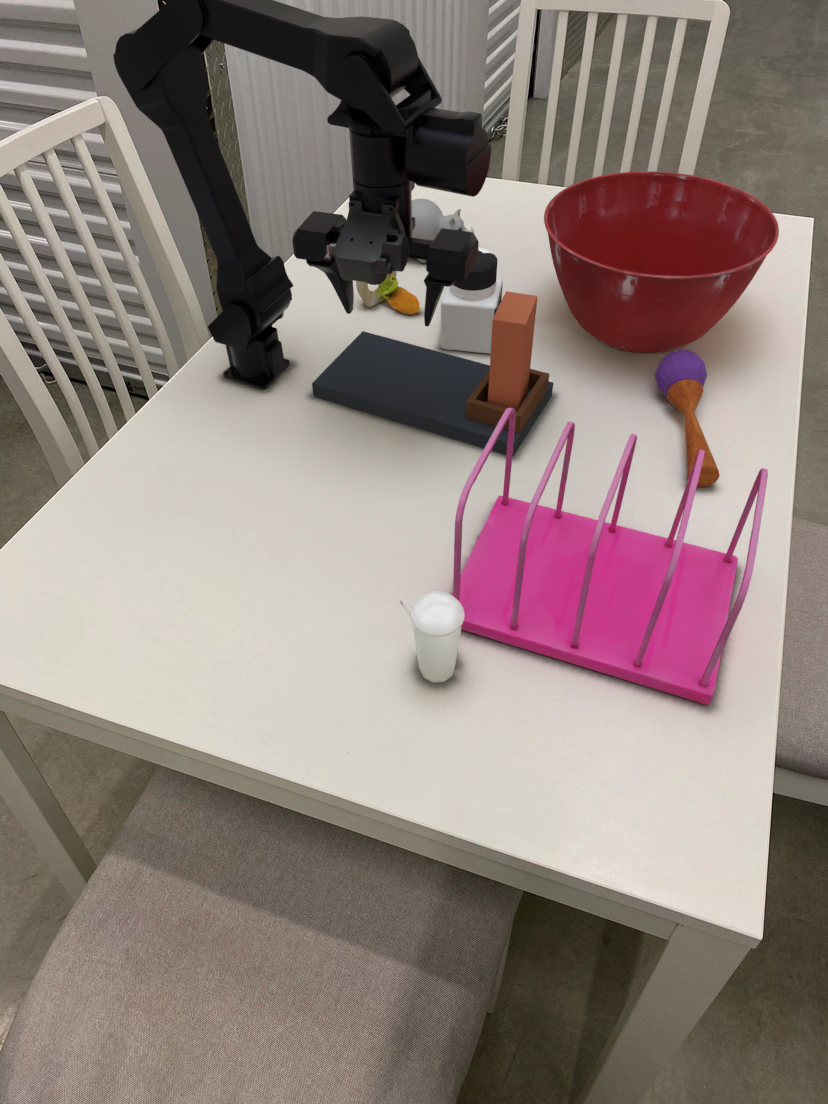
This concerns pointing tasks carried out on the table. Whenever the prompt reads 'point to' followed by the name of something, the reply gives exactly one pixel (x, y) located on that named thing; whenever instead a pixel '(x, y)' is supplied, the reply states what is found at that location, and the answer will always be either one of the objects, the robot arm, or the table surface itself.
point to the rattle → (389, 295)
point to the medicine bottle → (472, 307)
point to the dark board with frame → (427, 390)
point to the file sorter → (602, 581)
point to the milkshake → (436, 633)
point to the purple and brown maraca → (688, 405)
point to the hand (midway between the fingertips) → (388, 318)
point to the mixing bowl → (655, 255)
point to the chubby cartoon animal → (433, 220)
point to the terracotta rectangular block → (511, 350)
